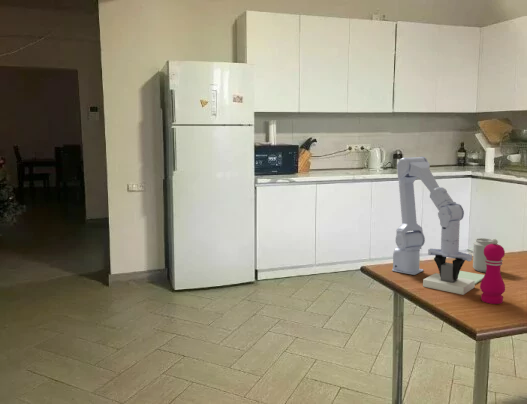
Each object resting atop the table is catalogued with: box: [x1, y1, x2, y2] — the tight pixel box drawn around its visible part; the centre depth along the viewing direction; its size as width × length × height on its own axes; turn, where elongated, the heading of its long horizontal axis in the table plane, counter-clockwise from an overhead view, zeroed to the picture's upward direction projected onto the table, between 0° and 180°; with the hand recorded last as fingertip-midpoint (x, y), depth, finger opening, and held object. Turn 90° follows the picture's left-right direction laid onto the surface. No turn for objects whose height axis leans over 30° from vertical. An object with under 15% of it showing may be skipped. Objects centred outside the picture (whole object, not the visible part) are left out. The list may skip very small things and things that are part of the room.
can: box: [472, 237, 493, 273], centre depth 189 cm, size 8×8×12 cm
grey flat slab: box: [422, 272, 476, 296], centre depth 171 cm, size 14×10×2 cm
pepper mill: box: [479, 238, 506, 305], centre depth 155 cm, size 7×7×20 cm
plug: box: [441, 262, 457, 283], centre depth 170 cm, size 4×4×8 cm
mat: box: [458, 270, 485, 285], centre depth 181 cm, size 12×12×1 cm
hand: (448, 277), depth 170 cm, fingers closed on plug, 4 cm apart
